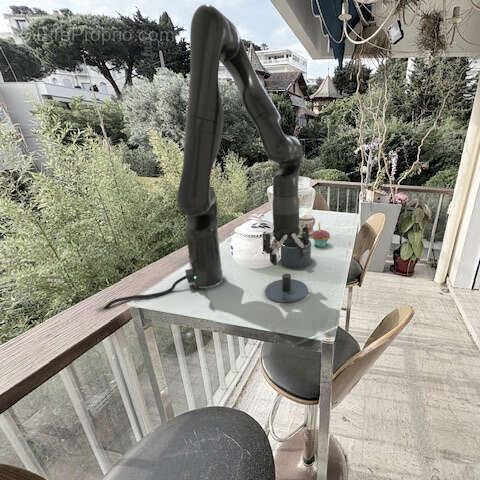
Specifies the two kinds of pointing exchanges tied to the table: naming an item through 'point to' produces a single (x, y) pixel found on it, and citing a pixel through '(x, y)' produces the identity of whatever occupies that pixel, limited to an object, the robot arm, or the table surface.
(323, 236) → the cupcake
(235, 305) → the table surface
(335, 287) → the table surface
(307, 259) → the pot
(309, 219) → the teacup with lid
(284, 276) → the lid
